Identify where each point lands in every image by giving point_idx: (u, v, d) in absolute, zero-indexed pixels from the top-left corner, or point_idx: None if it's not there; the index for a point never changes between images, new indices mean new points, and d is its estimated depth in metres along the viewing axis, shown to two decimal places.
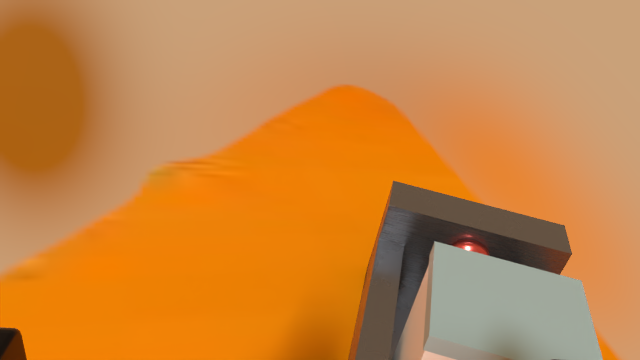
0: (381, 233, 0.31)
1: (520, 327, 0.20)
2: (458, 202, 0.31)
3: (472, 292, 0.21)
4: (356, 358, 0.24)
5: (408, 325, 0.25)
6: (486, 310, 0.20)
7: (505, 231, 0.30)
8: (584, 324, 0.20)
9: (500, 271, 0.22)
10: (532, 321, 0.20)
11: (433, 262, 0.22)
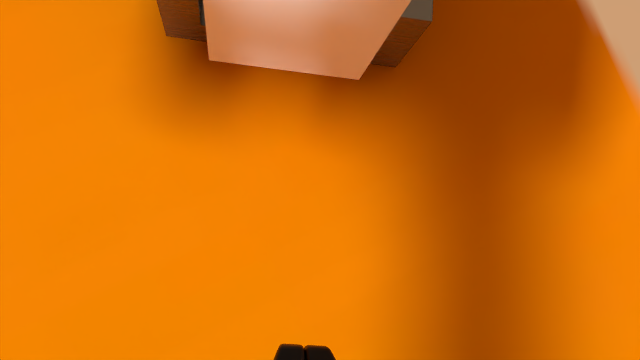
0: None
1: None
2: None
3: None
4: None
5: None
6: None
7: None
8: None
9: None
10: None
11: None
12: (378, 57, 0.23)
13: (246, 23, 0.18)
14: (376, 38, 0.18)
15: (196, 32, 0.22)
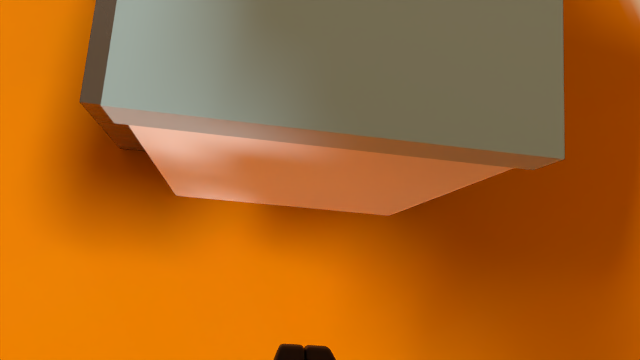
0: None
1: (370, 24, 0.07)
2: None
3: None
4: (88, 59, 0.12)
5: None
6: None
7: None
8: None
9: None
10: None
11: None
12: None
13: (225, 177, 0.11)
14: (425, 195, 0.12)
15: None
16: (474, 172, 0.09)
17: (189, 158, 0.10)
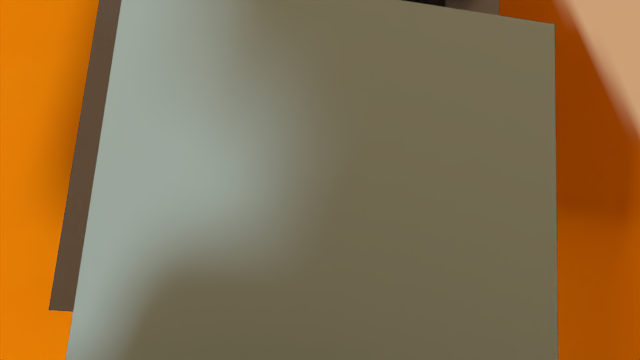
0: None
1: (353, 249, 0.07)
2: None
3: (226, 150, 0.07)
4: (59, 261, 0.12)
5: None
6: (261, 211, 0.07)
7: None
8: (533, 187, 0.08)
9: (325, 40, 0.08)
10: (391, 216, 0.07)
11: (115, 50, 0.07)
12: None
13: None
14: None
15: None
16: None
17: None
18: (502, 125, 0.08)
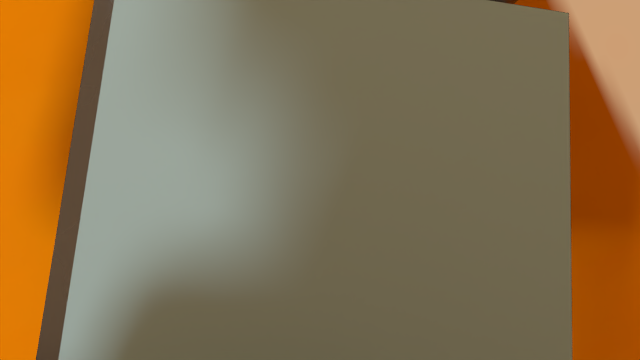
0: None
1: (358, 247, 0.07)
2: None
3: (226, 144, 0.07)
4: (44, 325, 0.11)
5: None
6: (262, 208, 0.07)
7: None
8: (546, 183, 0.07)
9: (329, 30, 0.07)
10: (398, 213, 0.07)
11: (110, 39, 0.07)
12: None
13: None
14: None
15: None
16: None
17: None
18: (514, 118, 0.07)
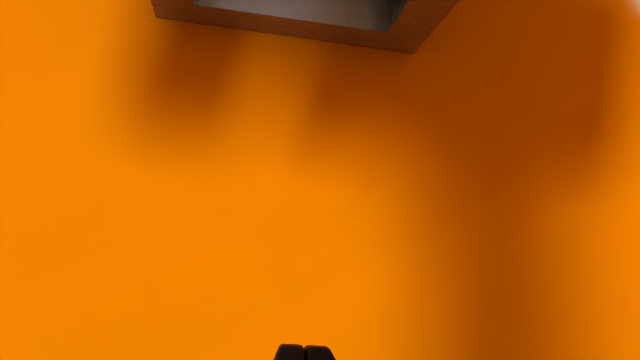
0: None
1: None
2: None
3: None
4: None
5: None
6: None
7: None
8: None
9: None
10: None
11: None
12: (395, 42, 0.21)
13: None
14: None
15: (190, 13, 0.20)
16: None
17: None
18: None
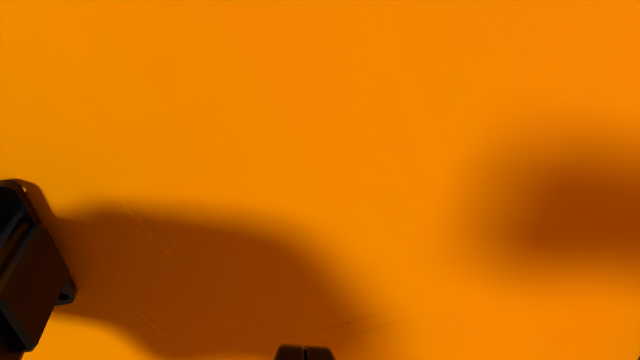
0: None
1: None
2: None
3: None
4: None
5: None
6: None
7: None
8: None
9: None
10: None
11: None
12: None
13: None
14: None
15: None
16: None
17: None
18: None
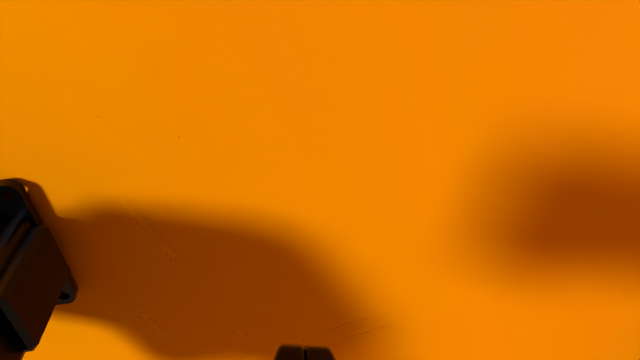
0: None
1: None
2: None
3: None
4: None
5: None
6: None
7: None
8: None
9: None
10: None
11: None
12: None
13: None
14: None
15: None
16: None
17: None
18: None
